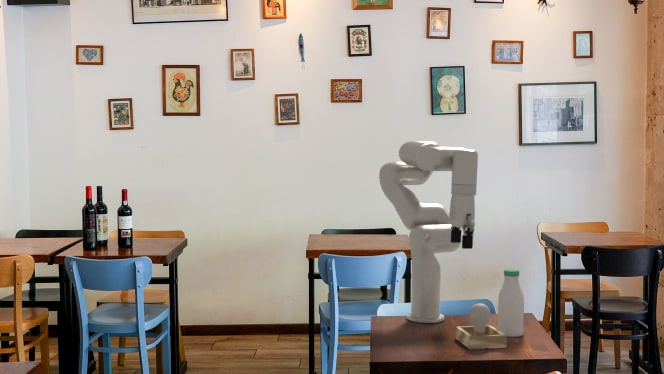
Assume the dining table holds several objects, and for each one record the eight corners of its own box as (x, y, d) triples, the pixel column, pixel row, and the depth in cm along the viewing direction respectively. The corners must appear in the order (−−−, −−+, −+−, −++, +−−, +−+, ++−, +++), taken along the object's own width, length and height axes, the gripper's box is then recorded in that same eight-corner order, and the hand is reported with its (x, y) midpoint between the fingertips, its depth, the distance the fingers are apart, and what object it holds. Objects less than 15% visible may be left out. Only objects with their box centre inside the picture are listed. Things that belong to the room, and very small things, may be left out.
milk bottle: (524, 338, 217) (525, 272, 216) (497, 336, 219) (499, 271, 218) (522, 331, 225) (523, 268, 224) (497, 330, 227) (498, 267, 225)
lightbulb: (493, 340, 213) (494, 303, 212) (483, 344, 208) (483, 306, 208) (475, 336, 217) (476, 300, 216) (464, 340, 212) (465, 303, 212)
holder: (455, 338, 217) (455, 326, 217) (490, 336, 219) (490, 325, 218) (470, 349, 205) (470, 336, 205) (506, 347, 207) (506, 335, 207)
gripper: (442, 186, 226) (440, 240, 228) (462, 193, 209) (459, 251, 211) (465, 186, 227) (462, 240, 229) (486, 193, 210) (483, 250, 212)
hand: (461, 245), depth 220 cm, fingers open, 9 cm apart
